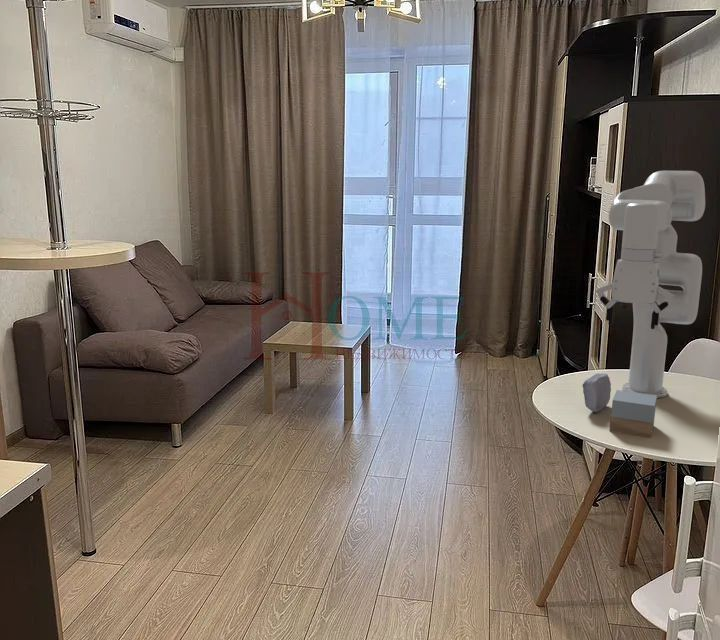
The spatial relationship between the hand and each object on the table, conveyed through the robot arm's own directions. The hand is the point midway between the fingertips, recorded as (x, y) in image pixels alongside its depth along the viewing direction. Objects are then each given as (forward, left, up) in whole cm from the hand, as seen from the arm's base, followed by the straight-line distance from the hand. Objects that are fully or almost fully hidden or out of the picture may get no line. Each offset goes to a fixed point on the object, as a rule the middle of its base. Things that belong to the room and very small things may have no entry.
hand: (631, 325), depth 170 cm
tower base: (-10, +1, -30) cm, 32 cm away
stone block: (-20, -10, -30) cm, 37 cm away
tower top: (-10, +2, -26) cm, 27 cm away
